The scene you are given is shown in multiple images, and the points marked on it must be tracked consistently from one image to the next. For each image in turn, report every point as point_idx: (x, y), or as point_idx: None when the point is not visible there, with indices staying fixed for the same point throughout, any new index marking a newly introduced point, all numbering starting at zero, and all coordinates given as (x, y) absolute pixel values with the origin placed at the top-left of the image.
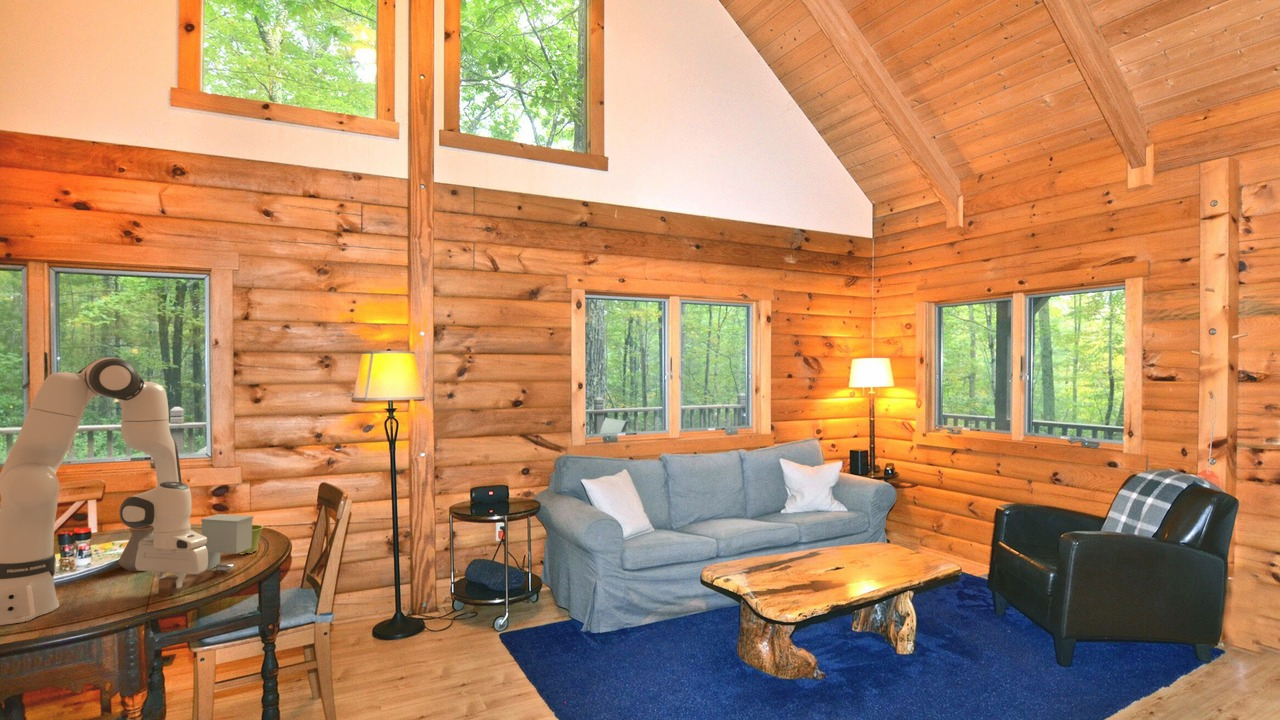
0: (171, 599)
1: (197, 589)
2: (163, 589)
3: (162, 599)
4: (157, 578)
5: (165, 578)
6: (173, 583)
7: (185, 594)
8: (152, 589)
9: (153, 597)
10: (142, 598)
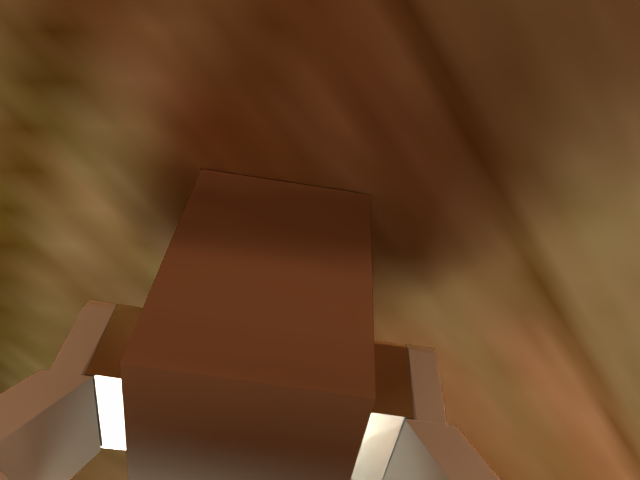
0: (6, 13)
1: None
2: (273, 242)
3: (162, 9)
4: (483, 470)
5: (278, 444)
6: None
7: (11, 234)
8: (584, 387)
9: (388, 106)
10: (552, 53)
